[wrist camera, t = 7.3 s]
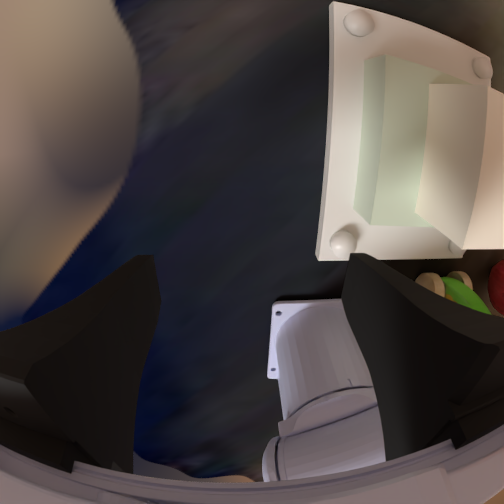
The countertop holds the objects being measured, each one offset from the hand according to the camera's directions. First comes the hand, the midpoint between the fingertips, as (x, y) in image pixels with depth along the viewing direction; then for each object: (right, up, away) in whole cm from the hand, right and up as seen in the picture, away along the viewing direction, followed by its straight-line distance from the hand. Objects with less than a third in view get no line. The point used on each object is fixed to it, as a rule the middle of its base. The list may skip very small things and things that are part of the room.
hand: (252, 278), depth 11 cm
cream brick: (+12, +7, +4) cm, 14 cm away
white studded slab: (+12, +9, +7) cm, 16 cm away
